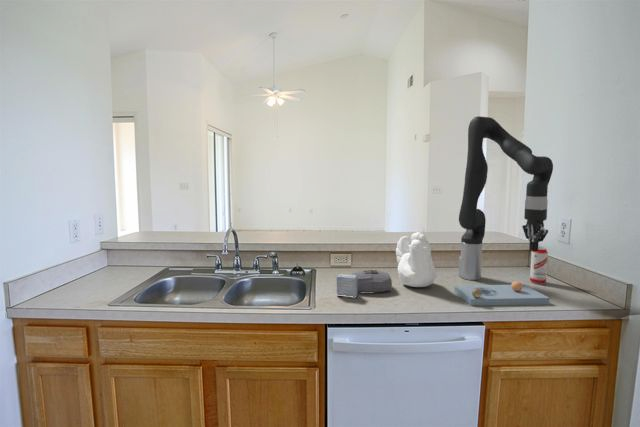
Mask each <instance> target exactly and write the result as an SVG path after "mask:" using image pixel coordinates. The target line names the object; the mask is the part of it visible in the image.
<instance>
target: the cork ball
mask: <svg viewBox="0 0 640 427" xmlns="http://www.w3.org/2000/svg"><path fill="white" fill-rule="evenodd" d="M472 295H473V296H474V297H475V298H479V297H481V295H482V292H481V290H480V289H473V290H472Z"/></svg>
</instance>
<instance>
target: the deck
mask: <svg viewBox="0 0 640 427" xmlns="http://www.w3.org/2000/svg"><path fill="white" fill-rule="evenodd" d="M521 284H522V283H521ZM453 288H454V290H453V291H455V294H456V295H458V296H459V297H460V298H461V299H463V301H465V302H466V303H467V304H468V305H470V306H515V305H516V306H525V305H528V306H529V305H550V297H549V296H547V295H544V293H542V292H540V291H538V290H536V289H534V288H532V287H531V286H529V285H526V284H525V283H524V284H522V290H521V291H514V290H513V289H512V288H511V284H480V285H479V284H477V285H476V284H475V285H472V284H471V285H465V284H464V285H463V284H462V285H454V287H453ZM473 289H480V290H481V292H482V295H481V297H479V298H475V297H474V296H473V295H472V290H473Z"/></svg>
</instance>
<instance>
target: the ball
mask: <svg viewBox="0 0 640 427" xmlns="http://www.w3.org/2000/svg"><path fill="white" fill-rule="evenodd" d="M510 285H511V288H512V289H513V290H514V291H521V290H522V283H521V282H520V281H517V280H516V281H512V282H511V284H510Z"/></svg>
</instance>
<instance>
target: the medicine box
mask: <svg viewBox="0 0 640 427" xmlns="http://www.w3.org/2000/svg"><path fill="white" fill-rule="evenodd" d="M337 294H338V295H346V296H353V297H355V296H356V295H357V296H358V292H357V275H351V274H343V273H342V274H340V273H339V274H338V275H337V276H336V295H337ZM357 296H356V297H357Z"/></svg>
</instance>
